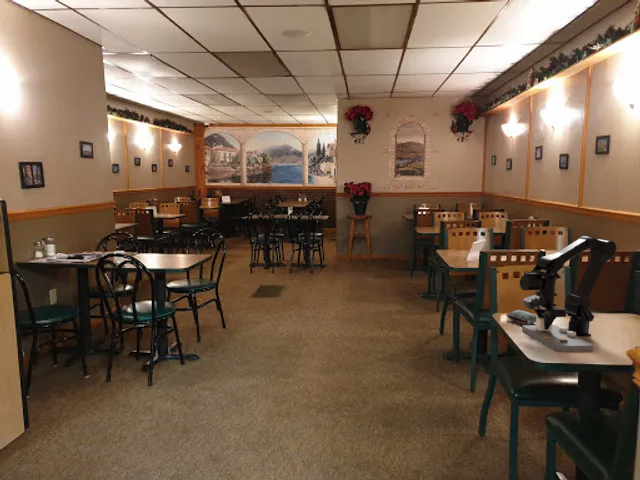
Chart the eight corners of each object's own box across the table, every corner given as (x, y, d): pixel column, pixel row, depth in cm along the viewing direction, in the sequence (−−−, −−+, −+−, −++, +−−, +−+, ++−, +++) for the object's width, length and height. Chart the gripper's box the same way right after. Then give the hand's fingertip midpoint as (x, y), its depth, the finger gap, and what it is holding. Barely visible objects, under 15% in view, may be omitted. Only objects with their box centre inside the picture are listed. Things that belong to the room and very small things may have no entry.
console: (522, 330, 195) (522, 321, 194) (554, 329, 196) (555, 321, 195) (555, 351, 171) (556, 341, 170) (592, 350, 172) (593, 341, 172)
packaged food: (519, 317, 213) (520, 307, 212) (542, 325, 202) (543, 314, 202) (505, 320, 209) (506, 309, 208) (527, 328, 199) (528, 316, 198)
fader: (535, 328, 189) (536, 317, 189) (547, 328, 190) (548, 316, 189) (539, 330, 186) (540, 319, 186) (551, 330, 187) (552, 319, 186)
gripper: (515, 284, 194) (512, 321, 196) (540, 295, 176) (536, 336, 178) (541, 284, 195) (538, 321, 197) (568, 295, 177) (565, 335, 179)
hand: (543, 328), depth 188 cm, fingers closed on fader, 3 cm apart
